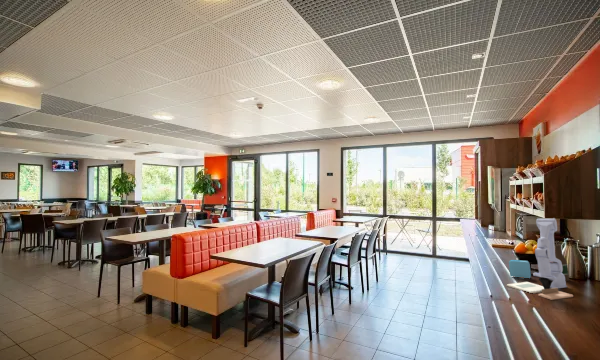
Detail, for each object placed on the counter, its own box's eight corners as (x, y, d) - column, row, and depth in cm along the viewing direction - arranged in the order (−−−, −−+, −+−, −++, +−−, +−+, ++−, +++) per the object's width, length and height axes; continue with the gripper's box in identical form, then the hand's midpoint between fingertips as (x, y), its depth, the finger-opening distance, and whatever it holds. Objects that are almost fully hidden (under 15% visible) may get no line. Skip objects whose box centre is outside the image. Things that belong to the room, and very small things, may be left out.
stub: (559, 292, 182) (558, 286, 182) (573, 296, 174) (572, 290, 175) (538, 295, 180) (537, 289, 180) (551, 299, 172) (550, 293, 172)
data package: (531, 277, 216) (529, 260, 217) (530, 279, 213) (528, 262, 214) (511, 275, 224) (509, 259, 225) (510, 277, 221) (508, 260, 222)
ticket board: (527, 283, 204) (526, 281, 205) (553, 290, 187) (552, 288, 187) (506, 285, 202) (506, 284, 202) (530, 293, 184) (530, 291, 184)
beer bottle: (566, 278, 209) (561, 243, 211) (572, 281, 202) (567, 245, 203) (552, 278, 211) (548, 243, 213) (558, 281, 204) (553, 245, 206)
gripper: (527, 266, 190) (530, 287, 189) (550, 271, 175) (553, 294, 174) (537, 265, 191) (540, 286, 190) (560, 269, 176) (563, 293, 175)
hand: (547, 290), depth 182 cm, fingers closed
